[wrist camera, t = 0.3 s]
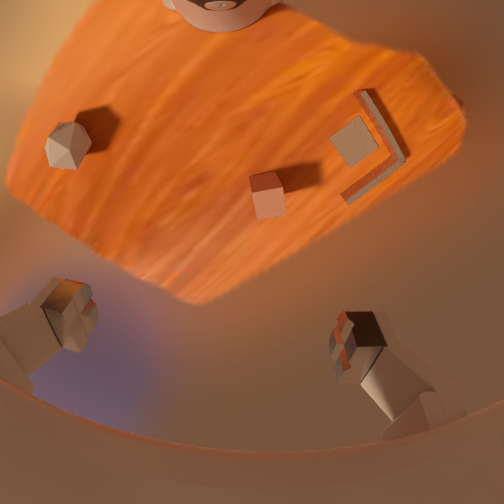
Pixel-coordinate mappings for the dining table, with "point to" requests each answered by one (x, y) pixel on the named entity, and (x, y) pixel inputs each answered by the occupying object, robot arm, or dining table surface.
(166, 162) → the dining table surface
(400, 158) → the corner wall
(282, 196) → the block
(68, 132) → the grey faceted polyhedron
